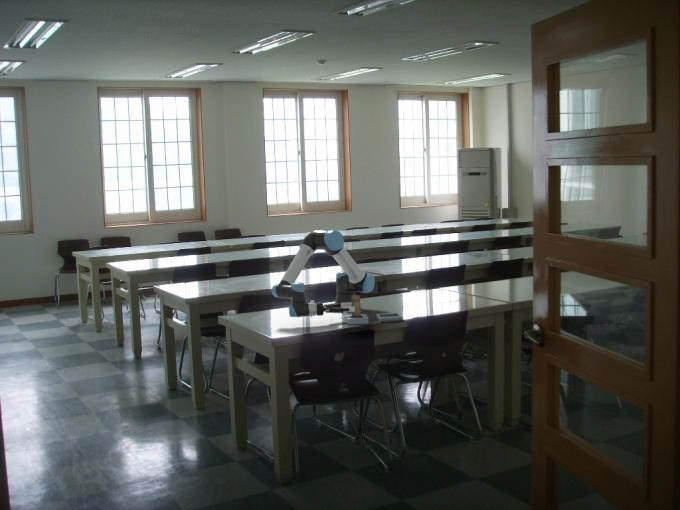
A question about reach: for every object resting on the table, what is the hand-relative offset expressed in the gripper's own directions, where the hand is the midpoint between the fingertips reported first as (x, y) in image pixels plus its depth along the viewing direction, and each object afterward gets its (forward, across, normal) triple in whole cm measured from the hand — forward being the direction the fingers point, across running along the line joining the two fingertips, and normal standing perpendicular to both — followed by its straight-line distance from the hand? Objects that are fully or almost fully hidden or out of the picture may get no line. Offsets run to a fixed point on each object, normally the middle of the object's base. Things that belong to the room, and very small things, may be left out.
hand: (353, 306), depth 428 cm
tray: (+21, -1, -9) cm, 22 cm away
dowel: (+2, 0, -9) cm, 9 cm away
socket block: (+2, 0, -9) cm, 9 cm away
